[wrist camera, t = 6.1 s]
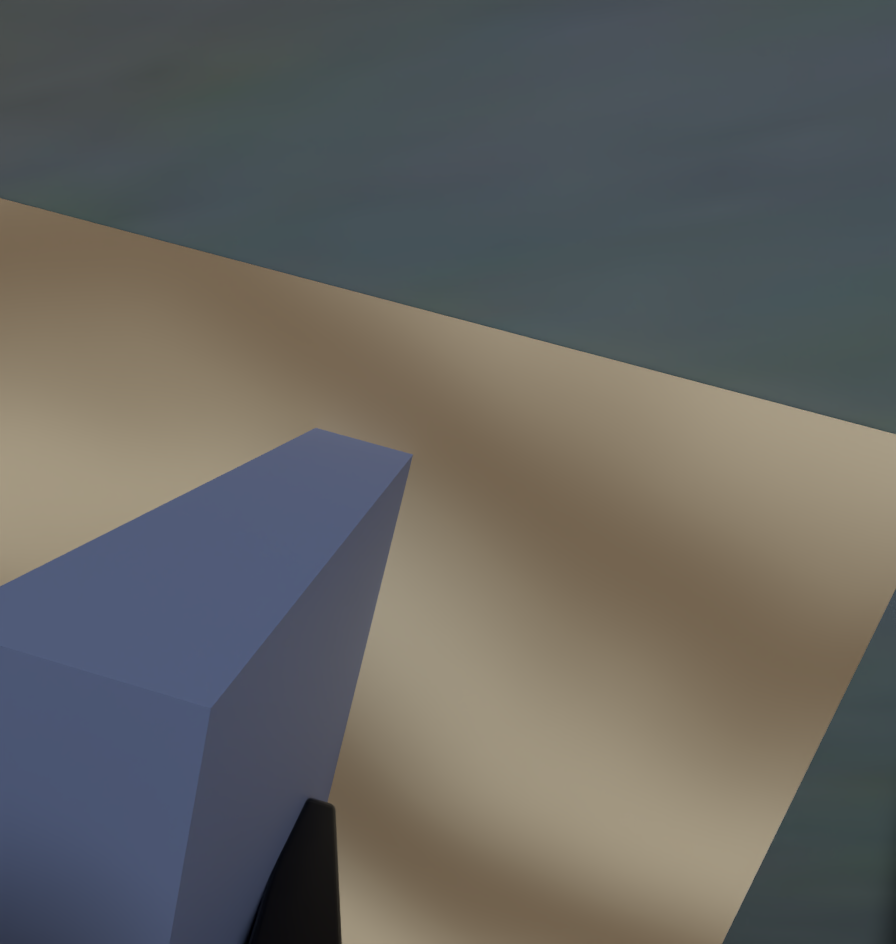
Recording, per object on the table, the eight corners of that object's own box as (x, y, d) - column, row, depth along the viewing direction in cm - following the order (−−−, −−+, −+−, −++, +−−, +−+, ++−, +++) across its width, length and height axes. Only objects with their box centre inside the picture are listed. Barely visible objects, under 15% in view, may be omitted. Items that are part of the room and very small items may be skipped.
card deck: (305, 890, 12) (63, 1547, 5) (224, 865, 12) (-109, 1485, 5) (412, 454, 9) (209, 708, 3) (311, 426, 9) (-88, 618, 3)
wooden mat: (579, 1206, 13) (581, 1232, 13) (-83, 991, 14) (-100, 1010, 14) (942, 447, 9) (962, 452, 9) (-55, 183, 10) (-79, 177, 9)
